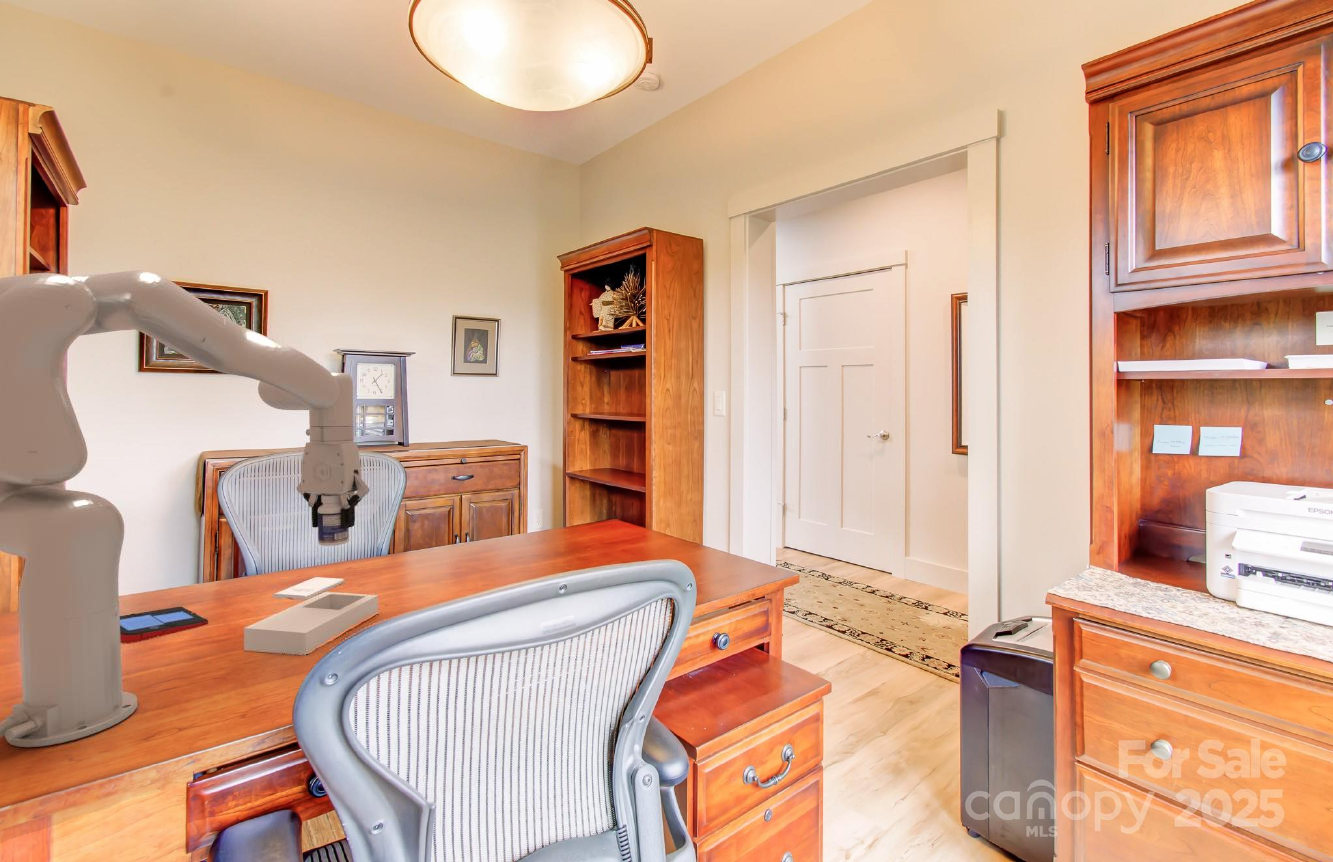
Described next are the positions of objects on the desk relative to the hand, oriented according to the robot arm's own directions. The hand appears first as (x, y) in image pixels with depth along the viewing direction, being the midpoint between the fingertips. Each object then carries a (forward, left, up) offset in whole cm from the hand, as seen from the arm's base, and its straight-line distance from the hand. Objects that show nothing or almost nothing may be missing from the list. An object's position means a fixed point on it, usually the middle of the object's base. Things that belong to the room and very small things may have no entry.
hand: (333, 525), depth 117 cm
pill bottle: (0, 0, -4) cm, 4 cm away
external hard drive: (+16, +19, -20) cm, 32 cm away
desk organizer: (-5, 0, -19) cm, 20 cm away
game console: (-8, +32, -20) cm, 39 cm away
